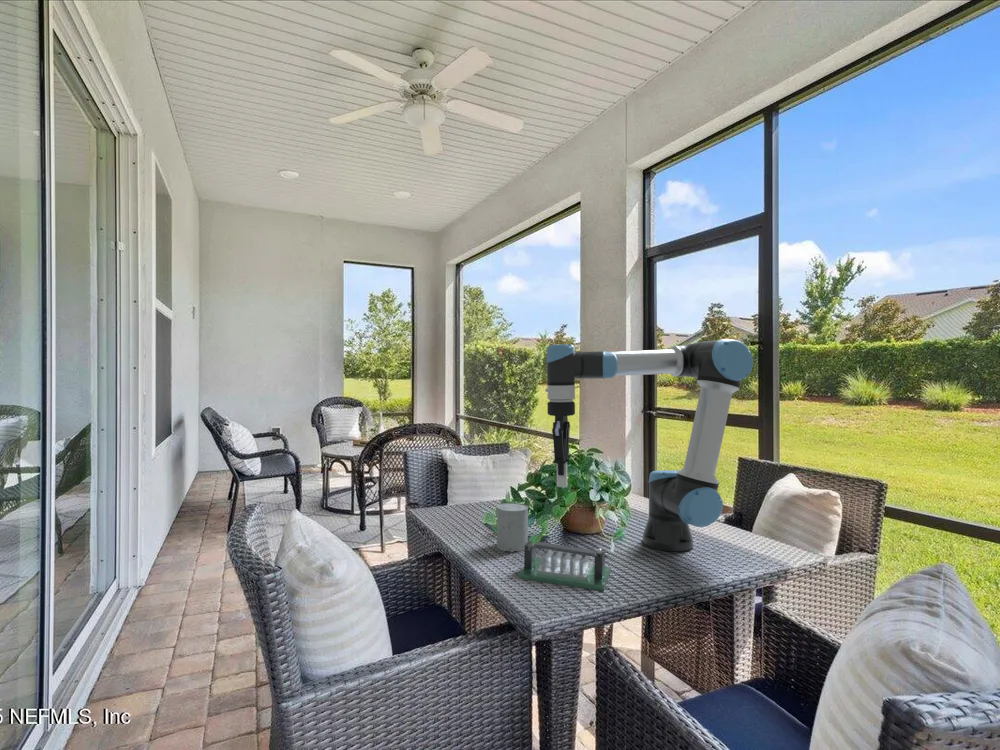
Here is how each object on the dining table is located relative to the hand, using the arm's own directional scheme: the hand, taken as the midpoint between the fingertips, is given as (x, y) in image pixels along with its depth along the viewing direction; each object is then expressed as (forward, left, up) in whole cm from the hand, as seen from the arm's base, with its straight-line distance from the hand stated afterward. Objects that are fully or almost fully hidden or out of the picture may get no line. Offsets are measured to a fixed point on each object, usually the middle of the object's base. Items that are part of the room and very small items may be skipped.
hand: (562, 486), depth 143 cm
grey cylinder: (+18, -11, -23) cm, 31 cm away
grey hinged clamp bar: (-3, +5, -16) cm, 17 cm away
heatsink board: (-2, +5, -23) cm, 23 cm away
